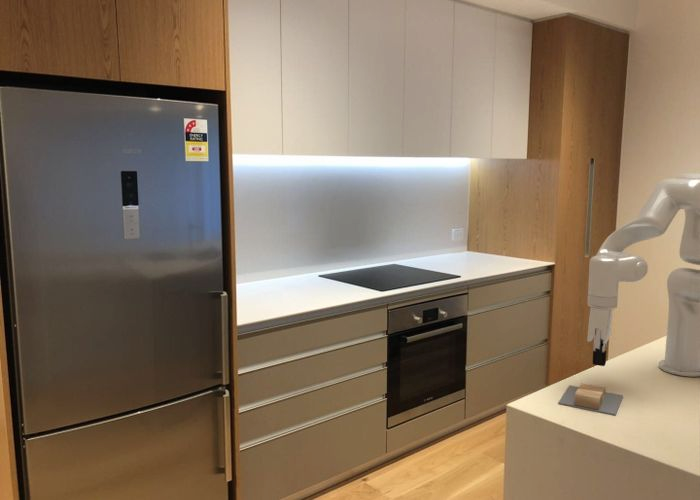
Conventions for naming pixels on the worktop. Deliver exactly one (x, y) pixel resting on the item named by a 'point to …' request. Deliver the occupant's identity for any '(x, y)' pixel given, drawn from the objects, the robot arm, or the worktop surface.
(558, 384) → the worktop surface
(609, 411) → the rubber mat
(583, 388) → the oak slab
